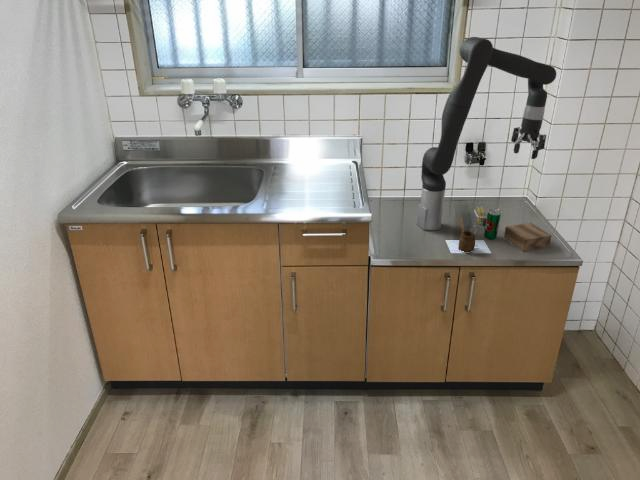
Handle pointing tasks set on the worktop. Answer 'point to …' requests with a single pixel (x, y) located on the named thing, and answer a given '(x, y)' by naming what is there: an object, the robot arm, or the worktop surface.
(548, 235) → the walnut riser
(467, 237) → the utensil holder
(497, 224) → the soda can
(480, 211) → the grey flat gold-topped slab
